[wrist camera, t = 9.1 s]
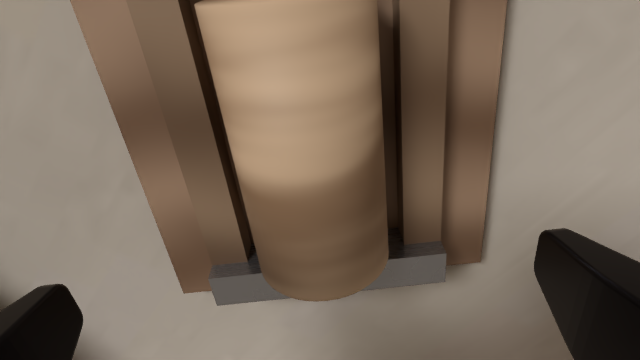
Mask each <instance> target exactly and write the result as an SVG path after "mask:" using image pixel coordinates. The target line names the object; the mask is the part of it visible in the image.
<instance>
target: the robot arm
mask: <svg viewBox="0 0 640 360" xmlns="http://www.w3.org/2000/svg"><path fill="white" fill-rule="evenodd" d="M534 272H535V276H536V278H537V281H538V283H539V285H540V287H541V289H542V292H543V294H544V296H545V298H546V301H547V303H548V305H549V307H550V309H551V312H552V314H553V316H554V318H555V321H556V323H557V325H558V327H559V329H560V332H561V334H562V336H563V338H564V340H565V343H566V345H567V347H568V349H569V351H570V353H571V355H572V356H573V358H574V360H640V262H638V261H635V260H633V259H631V258H629V257H627V256H625V255H623V254H620V253H618V252H616V251H614V250H612V249H610V248H608V247H605V246H603V245H601V244H599V243H597V242H595V241H593V240H590V239H588V238H586V237H584V236H582V235H580V234H578V233H575V232H573V231H571V230H569V229H565V228H561V229H552V230H545V231H543V232H542V233H541V234H540V236H539V240H538V245H537V251H536V256H535V261H534ZM82 325H83V315H82V312H81V310H80V308H79V307H78V305H77V303H76V302H75V300H74V298H73V296H72V295H71V293H70V291H69V290H68V288H67V287H66V286H64V285H63V284H53V285H44V286H40V287H37V288H36V289H34V290H33V291H31V292H30V293H28V294H26V295H25V296H23V297H22V298H20V299H19V300H17V301H16V302H14V303H13V304H11V305H10V306H8V307H7V308H5V309H3V310H2V311H0V360H72V358H73V355H74V351H75V348H76V345H77V342H78V339H79V336H80V332H81V329H82Z"/></svg>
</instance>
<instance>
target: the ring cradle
mask: <svg viewBox="0 0 640 360" xmlns="http://www.w3.org/2000/svg"><path fill="white" fill-rule="evenodd" d="M70 1H71V4H72V7H73V9H74V12H75V14H76V17H77V20H78V22H79V25H80V27H81V30H82V32H83V35H84V38H85V40H86V43H87V45H88V48H89V50H90V53H91V56H92V58H93V61H94V63H95V66H96V69H97V71H98V74H99V76H100V79H101V81H102V84H103V87H104V89H105V92H106V94H107V97H108V99H109V102H110V105H111V107H112V110H113V112H114V115H115V117H116V120H117V123H118V125H119V128H120V130H121V133H122V136H123V138H124V141H125V143H126V146H127V148H128V151H129V154H130V156H131V159H132V161H133V164H134V166H135V169H136V172H137V174H138V177H139V179H140V182H141V184H142V187H143V190H144V192H145V195H146V197H147V200H148V203H149V205H150V208H151V210H152V213H153V215H154V218H155V221H156V223H157V226H158V228H159V231H160V233H161V236H162V239H163V241H164V244H165V246H166V249H167V251H168V254H169V257H170V259H171V262H172V264H173V267H174V270H175V272H176V275H177V277H178V280H179V282H180V285H181V288H182V290H183V293H193V292H202V291H212V292H213V295H214V298H215V301H216V304H217V306H219V305H228V304H238V303H248V302H257V301H267V300H276V299H286V298H291V297H288V296H286V295H283V294H281V293H280V292H278V291H276V290H275V289H274V288H272V287H271V286H270V285H269V284H268V283H267V282H266V280H265V278H264V277H263V274H262V272H261V268H260V264H259V260H258V256H257V252H256V248H255V244H254V240H253V236H252V232H251V228H250V224H249V220H248V216H247V213H246V209H245V205H244V201H243V197H242V193H241V189H240V185H239V181H238V177H237V173H236V169H235V165H234V161H233V157H232V153H231V149H230V145H229V141H228V137H227V133H226V129H225V125H224V121H223V117H222V113H221V109H220V105H219V101H218V97H217V93H216V90H215V86H214V82H213V78H212V74H211V70H210V66H209V62H208V58H207V54H206V50H205V46H204V42H203V38H202V34H201V30H200V26H199V22H198V18H197V14H196V10H195V6H194V4H196V3H197V2H200V1H203V0H70ZM377 6H378V28H379V50H380V72H381V94H382V116H383V138H384V160H385V182H386V205H387V227H388V249H389V254H388V261H387V264H386V266H385V268H384V270H383V271H382V273H381V274H380V275H379V277H378V278H377V279H376V280H375V281H373V282H372V283H371V284H370V285H368V286H367V287H365V288H364V289H362V290H372V289H381V288H391V287H400V286H410V285H419V284H429V283H439V282H445V274H446V266H447V265H457V264H466V263H475V262H480V261H481V252H482V242H483V232H484V222H485V213H486V203H487V193H488V183H489V173H490V164H491V154H492V144H493V134H494V125H495V115H496V105H497V95H498V86H499V76H500V66H501V56H502V46H503V37H504V27H505V17H506V7H507V0H377ZM362 290H360V291H362Z"/></svg>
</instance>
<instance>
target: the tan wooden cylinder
mask: <svg viewBox="0 0 640 360" xmlns="http://www.w3.org/2000/svg"><path fill="white" fill-rule="evenodd" d="M194 6H195V10H196V14H197V18H198V22H199V26H200V30H201V34H202V38H203V42H204V46H205V50H206V54H207V58H208V62H209V66H210V70H211V74H212V78H213V82H214V86H215V90H216V93H217V97H218V101H219V105H220V109H221V113H222V117H223V121H224V125H225V129H226V133H227V137H228V141H229V145H230V149H231V153H232V157H233V161H234V165H235V169H236V173H237V177H238V181H239V185H240V189H241V193H242V197H243V201H244V205H245V209H246V213H247V216H248V220H249V224H250V228H251V232H252V236H253V240H254V244H255V248H256V252H257V256H258V260H259V264H260V268H261V272H262V274H263V277H264V278H265V280H266V282H267V283H268V284H269V285H270V286H271V287H272V288H274V289H275V290H276V291H278V292H280V293H281V294H283V295H286V296H288V297H291V298H295V299H298V300H305V301H328V300H334V299H339V298H343V297H346V296H349V295H352V294H354V293H356V292H358V291H360V290H362V289H364V288H365V287H367V286H368V285H370V284H371V283H372V282H373V281H375V280H376V279H377V278H378V277H379V275H380V274H381V273H382V271H383V270H384V268H385V266H386V264H387V261H388V254H389V249H388V227H387V205H386V182H385V160H384V138H383V116H382V94H381V72H380V50H379V28H378V6H377V0H203V1H200V2H197V3H196V4H194Z"/></svg>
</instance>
